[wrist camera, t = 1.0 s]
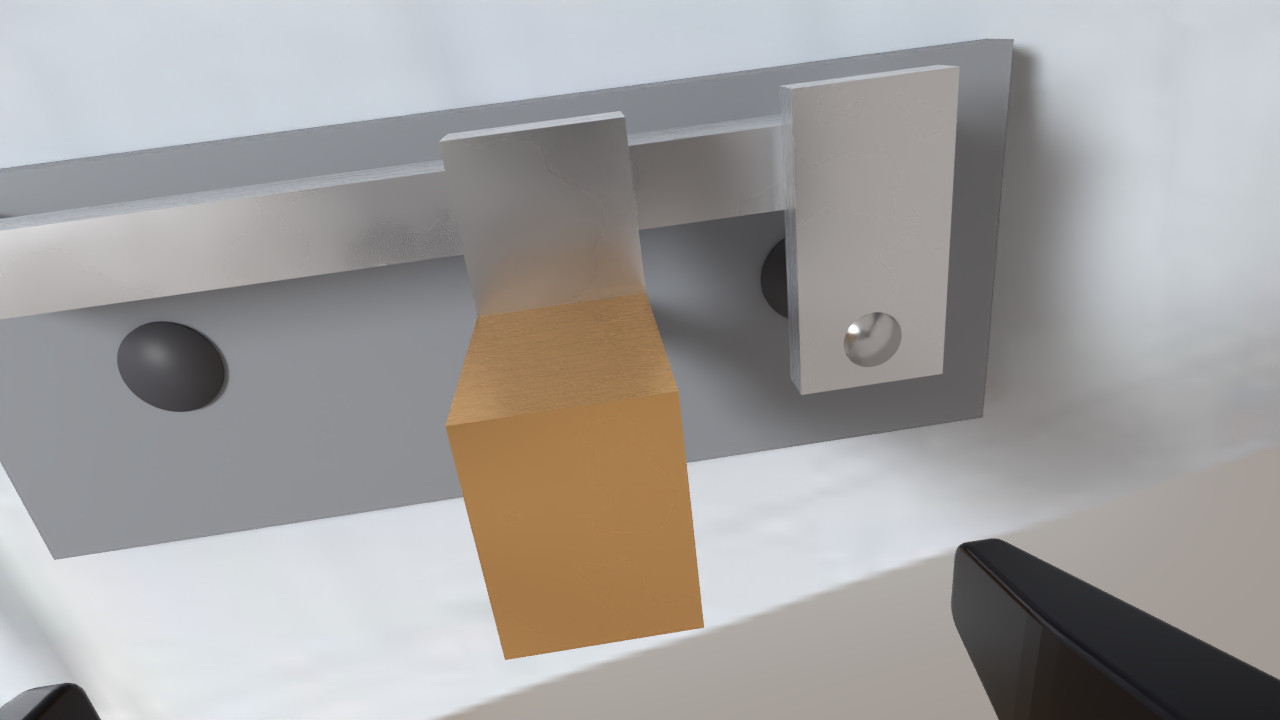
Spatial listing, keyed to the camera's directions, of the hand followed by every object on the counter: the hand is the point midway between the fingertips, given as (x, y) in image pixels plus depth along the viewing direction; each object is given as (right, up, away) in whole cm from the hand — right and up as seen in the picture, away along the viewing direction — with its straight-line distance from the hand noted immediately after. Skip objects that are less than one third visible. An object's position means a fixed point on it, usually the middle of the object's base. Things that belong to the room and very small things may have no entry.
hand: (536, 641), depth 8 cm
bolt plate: (-3, +4, +12) cm, 13 cm away
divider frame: (-4, +6, +10) cm, 12 cm away
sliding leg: (-1, +5, +10) cm, 11 cm away
